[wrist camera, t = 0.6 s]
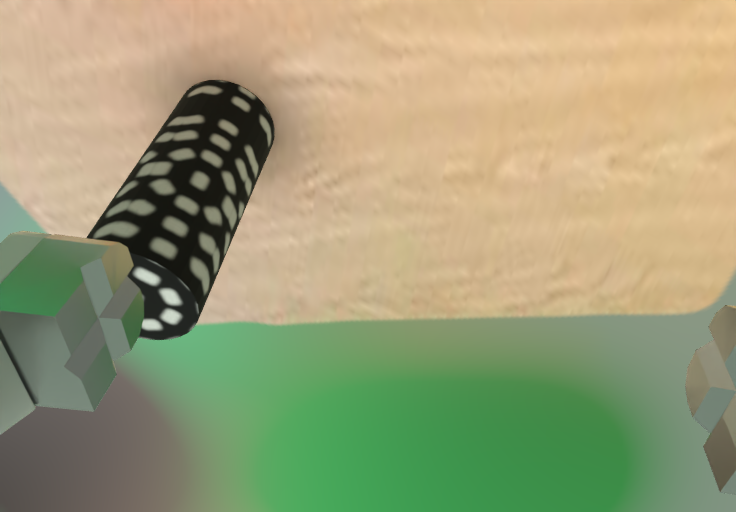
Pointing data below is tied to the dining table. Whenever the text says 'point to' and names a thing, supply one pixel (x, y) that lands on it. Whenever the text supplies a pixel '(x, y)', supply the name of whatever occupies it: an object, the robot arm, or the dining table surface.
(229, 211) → the spotted tube
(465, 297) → the dining table surface
